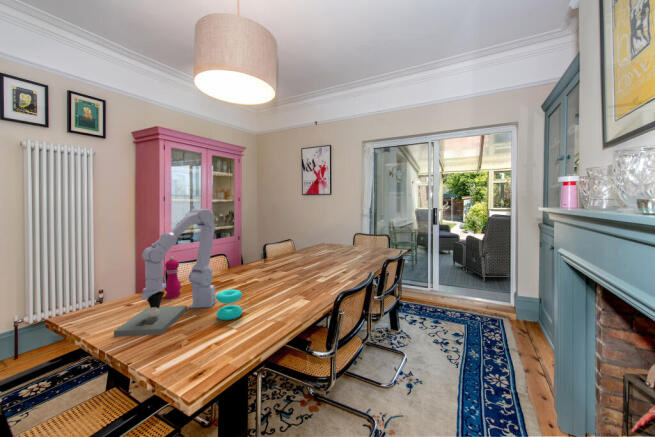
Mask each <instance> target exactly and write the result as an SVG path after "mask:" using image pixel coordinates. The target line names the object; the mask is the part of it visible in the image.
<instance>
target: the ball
mask: <svg viewBox="0 0 655 437" xmlns="http://www.w3.org/2000/svg"><path fill="white" fill-rule="evenodd" d="M147 314H148V316H149V317H150V318H155V317H157V316H158V315H159V309H158V308H157V307H152V308H150V309H149V310H148V313H147Z"/></svg>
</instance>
